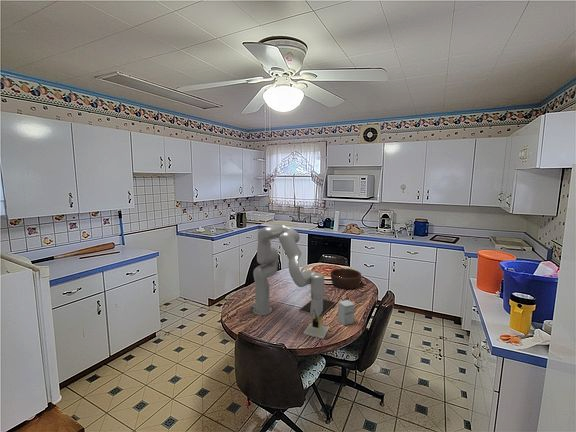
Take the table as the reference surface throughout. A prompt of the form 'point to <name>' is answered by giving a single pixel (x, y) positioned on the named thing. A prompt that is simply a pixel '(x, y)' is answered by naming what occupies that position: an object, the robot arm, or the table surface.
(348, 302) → the supplement box
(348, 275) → the wooden bowl
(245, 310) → the table surface
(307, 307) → the hardcover book
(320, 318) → the ochre cube
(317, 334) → the mat
